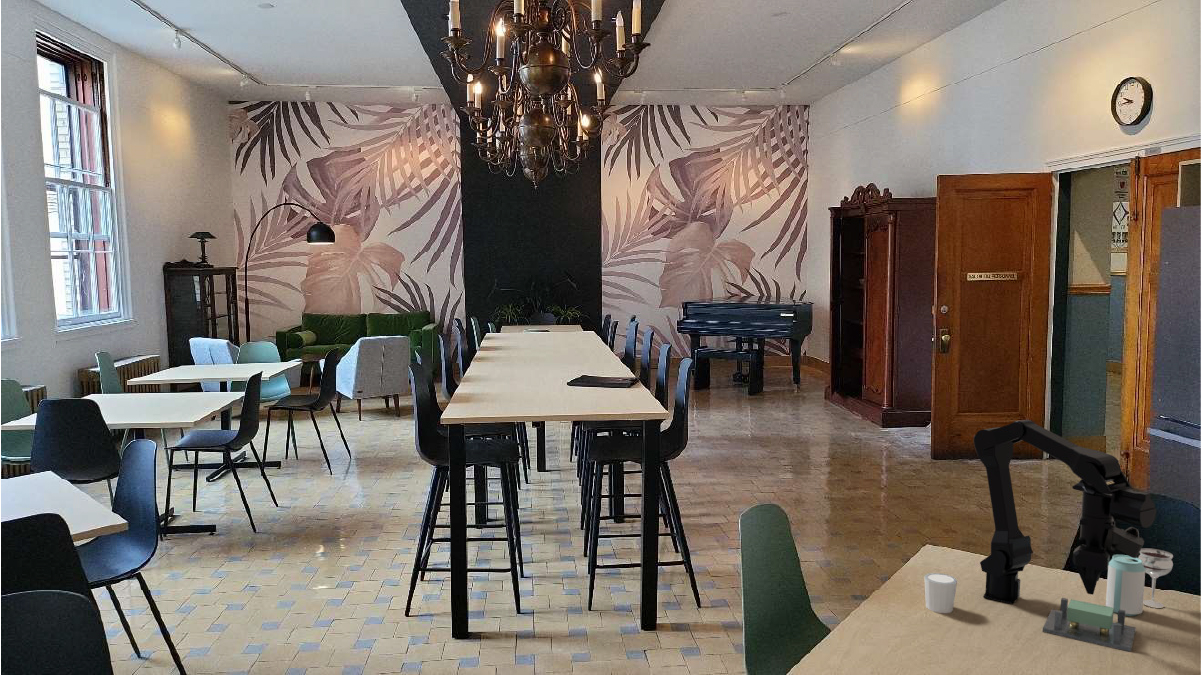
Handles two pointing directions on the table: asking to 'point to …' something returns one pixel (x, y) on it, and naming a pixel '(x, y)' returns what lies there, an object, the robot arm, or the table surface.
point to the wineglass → (1155, 568)
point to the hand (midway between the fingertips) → (1092, 587)
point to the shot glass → (940, 592)
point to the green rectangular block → (1090, 614)
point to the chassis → (1090, 629)
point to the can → (1125, 584)
